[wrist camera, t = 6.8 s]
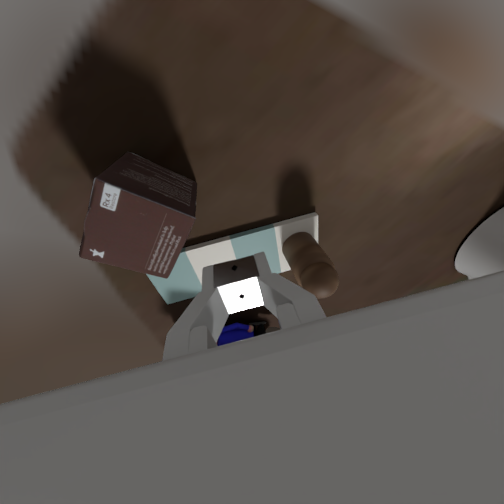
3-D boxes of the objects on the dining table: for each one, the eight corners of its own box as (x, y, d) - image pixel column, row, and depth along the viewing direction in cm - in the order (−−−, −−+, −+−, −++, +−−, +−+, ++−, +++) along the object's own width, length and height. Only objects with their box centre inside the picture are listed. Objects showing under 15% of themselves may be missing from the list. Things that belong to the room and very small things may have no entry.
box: (175, 232, 23) (167, 281, 17) (110, 210, 20) (75, 258, 15) (198, 181, 20) (198, 218, 14) (127, 147, 18) (92, 176, 12)
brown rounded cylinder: (313, 227, 25) (350, 271, 19) (314, 254, 27) (346, 300, 21) (280, 237, 25) (306, 284, 19) (283, 262, 27) (307, 311, 21)
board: (315, 212, 25) (318, 215, 24) (315, 258, 29) (318, 262, 28) (140, 259, 24) (139, 264, 23) (168, 299, 28) (167, 304, 28)
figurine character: (276, 306, 36) (180, 312, 30) (297, 349, 30) (184, 368, 24) (264, 331, 40) (175, 341, 34) (280, 374, 34) (178, 395, 28)
